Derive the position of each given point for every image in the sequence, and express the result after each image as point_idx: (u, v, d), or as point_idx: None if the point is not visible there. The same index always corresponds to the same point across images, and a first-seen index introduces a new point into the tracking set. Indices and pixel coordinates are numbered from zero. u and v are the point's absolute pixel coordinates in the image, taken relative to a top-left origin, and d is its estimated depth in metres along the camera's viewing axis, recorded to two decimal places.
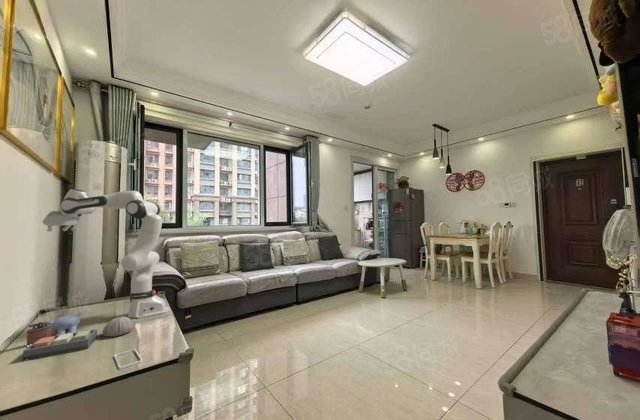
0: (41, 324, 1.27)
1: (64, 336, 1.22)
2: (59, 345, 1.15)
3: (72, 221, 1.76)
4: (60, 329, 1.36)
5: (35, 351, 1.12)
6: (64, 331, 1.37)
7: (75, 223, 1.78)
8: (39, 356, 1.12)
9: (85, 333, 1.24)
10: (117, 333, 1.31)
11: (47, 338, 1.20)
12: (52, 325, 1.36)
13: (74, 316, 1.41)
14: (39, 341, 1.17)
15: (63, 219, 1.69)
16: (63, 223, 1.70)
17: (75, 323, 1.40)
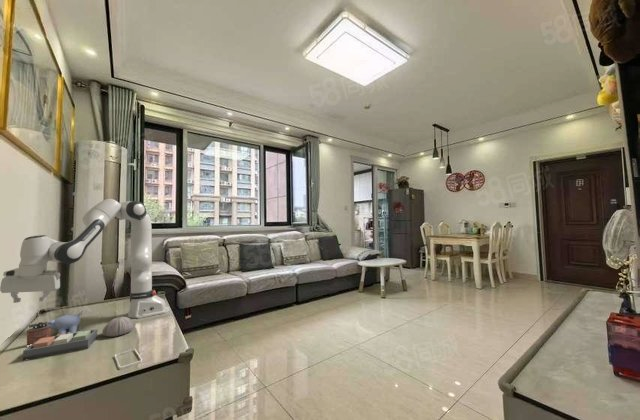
0: (41, 324, 1.27)
1: (64, 336, 1.22)
2: (59, 345, 1.15)
3: None
4: (60, 329, 1.37)
5: (35, 351, 1.12)
6: (64, 331, 1.38)
7: None
8: (39, 356, 1.12)
9: (85, 333, 1.24)
10: (117, 333, 1.31)
11: (47, 338, 1.20)
12: (53, 325, 1.37)
13: (74, 316, 1.42)
14: (39, 341, 1.17)
15: None
16: None
17: (75, 323, 1.41)
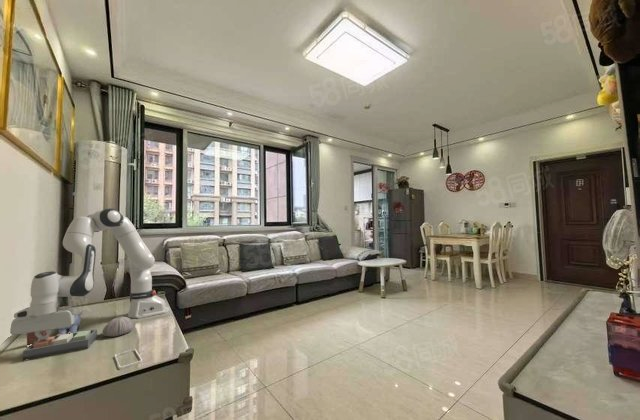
0: None
1: (64, 336, 1.22)
2: (59, 345, 1.15)
3: None
4: (61, 328, 1.37)
5: (35, 351, 1.12)
6: (65, 330, 1.38)
7: None
8: (39, 356, 1.12)
9: (85, 333, 1.24)
10: (117, 333, 1.31)
11: None
12: None
13: (75, 316, 1.42)
14: (39, 341, 1.17)
15: None
16: None
17: (76, 323, 1.41)
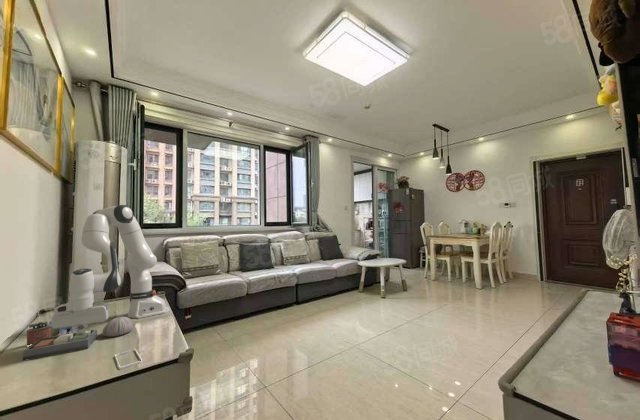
0: (41, 324, 1.27)
1: (64, 336, 1.22)
2: (59, 345, 1.15)
3: None
4: (62, 328, 1.38)
5: (35, 351, 1.12)
6: (65, 330, 1.38)
7: None
8: (39, 356, 1.12)
9: (85, 333, 1.24)
10: (117, 333, 1.31)
11: (47, 340, 1.20)
12: None
13: None
14: (39, 343, 1.17)
15: None
16: None
17: None
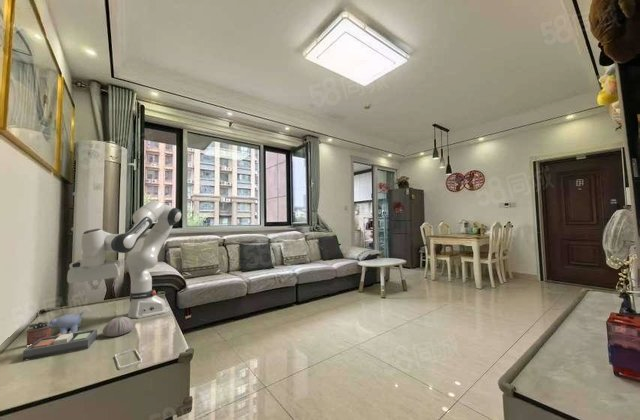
0: (41, 324, 1.27)
1: (64, 336, 1.22)
2: (59, 345, 1.15)
3: None
4: (62, 328, 1.38)
5: (35, 351, 1.12)
6: (66, 330, 1.39)
7: None
8: (39, 356, 1.12)
9: (85, 335, 1.24)
10: (117, 333, 1.31)
11: (47, 340, 1.20)
12: (54, 324, 1.38)
13: (76, 315, 1.43)
14: (39, 343, 1.17)
15: None
16: None
17: (77, 322, 1.42)
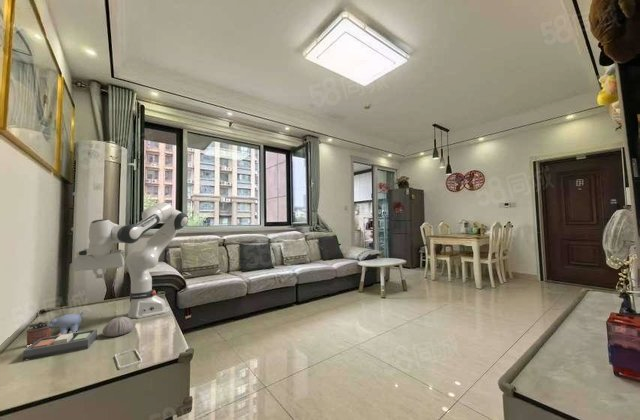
0: (41, 324, 1.27)
1: (64, 336, 1.22)
2: (59, 345, 1.15)
3: None
4: (62, 328, 1.38)
5: (35, 351, 1.12)
6: (66, 330, 1.39)
7: None
8: (39, 356, 1.12)
9: (85, 335, 1.24)
10: (117, 333, 1.31)
11: (47, 340, 1.20)
12: (55, 324, 1.38)
13: (76, 315, 1.43)
14: (39, 343, 1.17)
15: None
16: None
17: (77, 322, 1.42)
